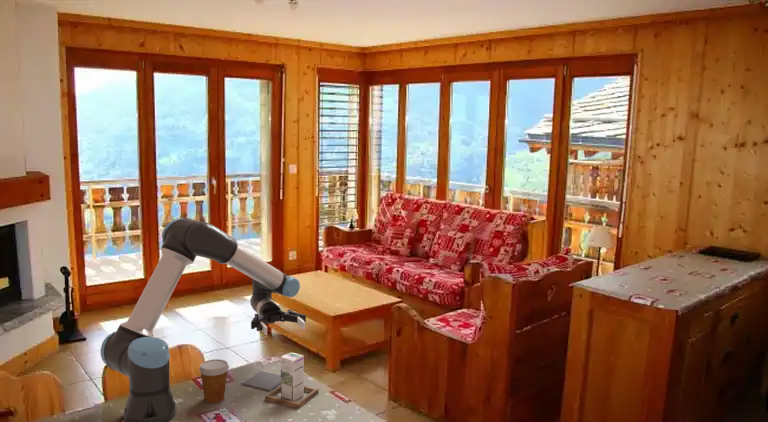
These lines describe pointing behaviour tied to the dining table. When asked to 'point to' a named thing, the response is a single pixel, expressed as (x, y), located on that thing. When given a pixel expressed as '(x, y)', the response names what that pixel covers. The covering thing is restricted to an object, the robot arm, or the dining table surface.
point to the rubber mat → (263, 381)
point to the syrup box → (292, 376)
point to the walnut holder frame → (273, 399)
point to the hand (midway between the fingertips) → (285, 328)
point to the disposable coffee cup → (214, 379)
